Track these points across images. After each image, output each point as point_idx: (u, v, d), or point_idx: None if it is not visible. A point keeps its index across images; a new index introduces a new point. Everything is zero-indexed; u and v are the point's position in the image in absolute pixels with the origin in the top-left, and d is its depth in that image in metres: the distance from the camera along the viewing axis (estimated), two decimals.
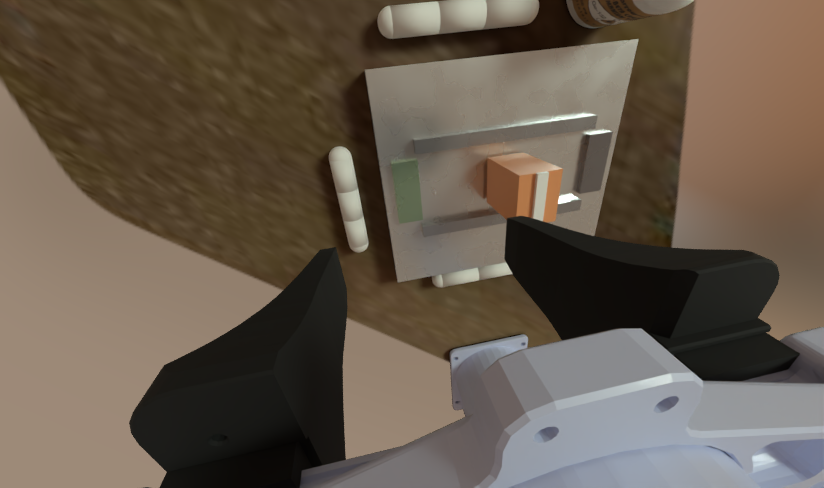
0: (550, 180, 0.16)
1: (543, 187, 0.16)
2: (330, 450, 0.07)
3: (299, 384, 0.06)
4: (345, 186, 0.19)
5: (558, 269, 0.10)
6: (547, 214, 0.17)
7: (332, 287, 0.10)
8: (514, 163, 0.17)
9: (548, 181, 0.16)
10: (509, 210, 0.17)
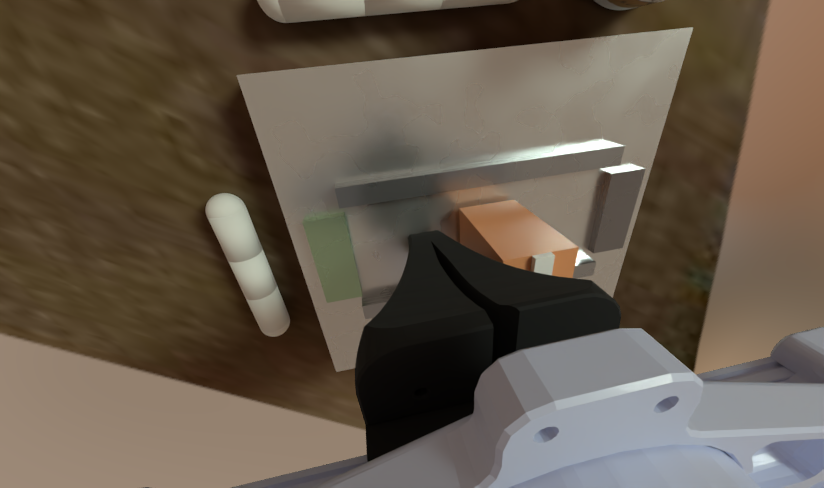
0: (556, 266, 0.09)
1: None
2: None
3: None
4: (235, 253, 0.12)
5: None
6: None
7: None
8: (498, 225, 0.11)
9: (553, 267, 0.09)
10: None
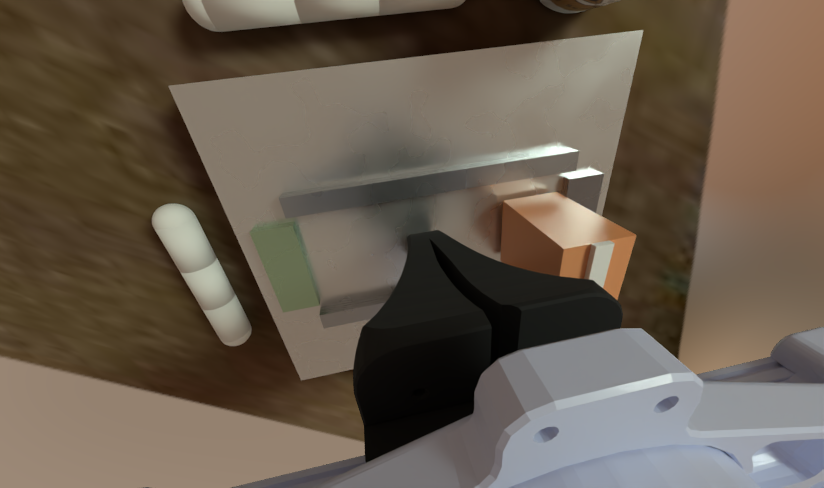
0: (614, 254, 0.09)
1: (602, 266, 0.09)
2: None
3: None
4: (185, 264, 0.12)
5: None
6: None
7: None
8: (548, 216, 0.11)
9: (610, 255, 0.09)
10: None
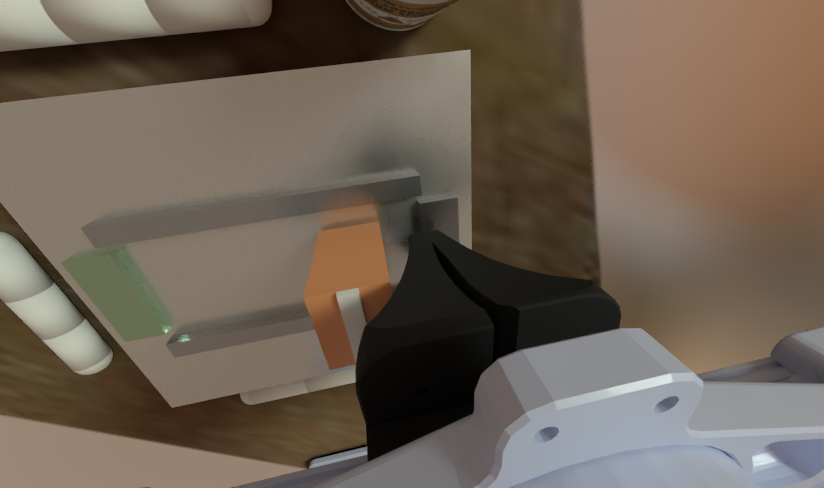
0: (369, 301, 0.09)
1: (355, 314, 0.09)
2: None
3: None
4: (4, 294, 0.11)
5: None
6: None
7: None
8: (336, 253, 0.10)
9: (365, 303, 0.09)
10: None
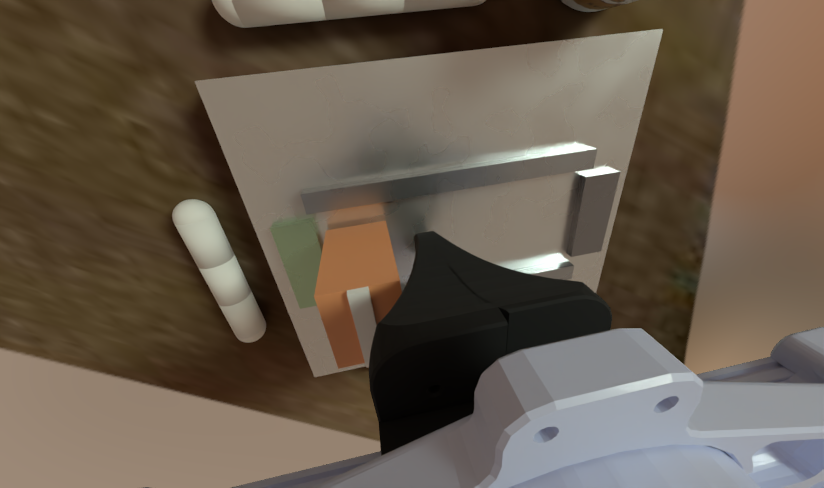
0: (379, 300, 0.09)
1: (365, 313, 0.09)
2: None
3: None
4: (204, 260, 0.12)
5: None
6: None
7: None
8: (344, 252, 0.10)
9: (375, 301, 0.09)
10: None
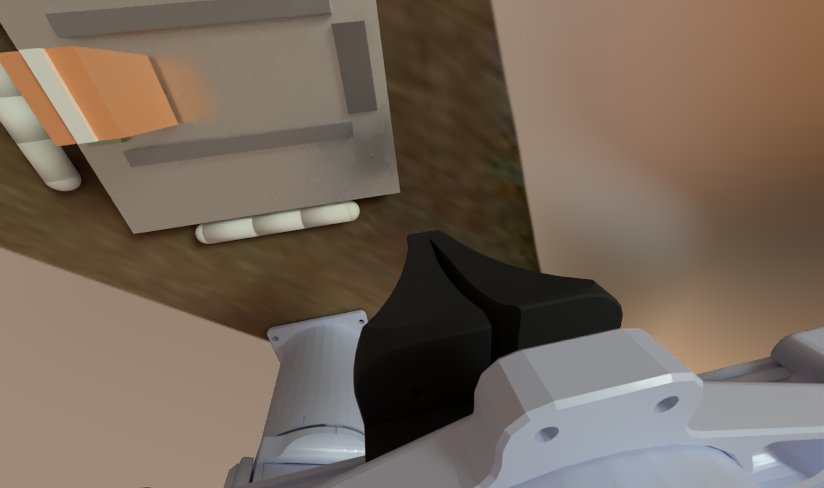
0: (59, 64, 0.10)
1: (47, 75, 0.10)
2: None
3: None
4: None
5: None
6: (100, 125, 0.11)
7: None
8: None
9: (57, 66, 0.10)
10: None
